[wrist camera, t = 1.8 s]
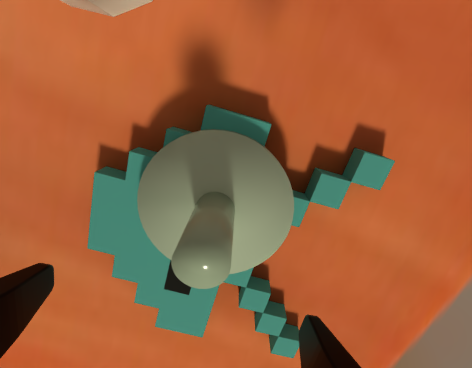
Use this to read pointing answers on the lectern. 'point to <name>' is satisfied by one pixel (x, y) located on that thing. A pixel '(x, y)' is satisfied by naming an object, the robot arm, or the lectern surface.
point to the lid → (215, 205)
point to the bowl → (107, 5)
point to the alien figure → (159, 266)
